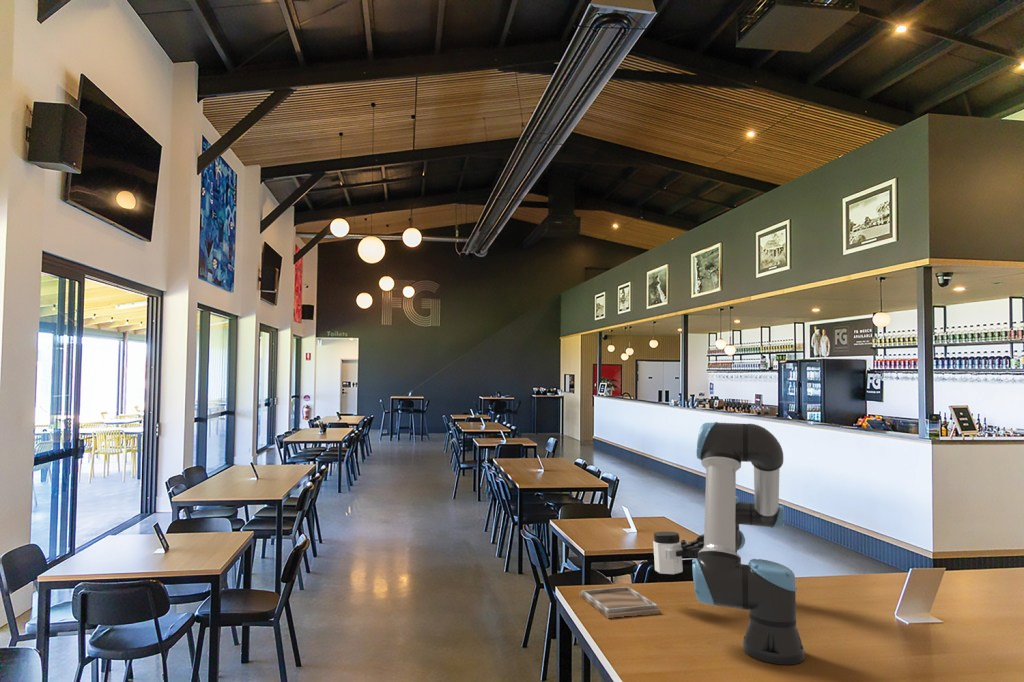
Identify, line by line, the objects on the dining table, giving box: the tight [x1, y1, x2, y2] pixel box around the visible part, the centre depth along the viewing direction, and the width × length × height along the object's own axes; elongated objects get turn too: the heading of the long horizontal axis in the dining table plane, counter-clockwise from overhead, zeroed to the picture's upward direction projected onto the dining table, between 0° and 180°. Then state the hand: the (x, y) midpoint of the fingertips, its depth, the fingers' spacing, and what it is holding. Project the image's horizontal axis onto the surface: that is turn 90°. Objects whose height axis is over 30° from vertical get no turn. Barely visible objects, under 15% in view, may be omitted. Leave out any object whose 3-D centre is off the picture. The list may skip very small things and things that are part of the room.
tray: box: [578, 586, 661, 619], centre depth 202 cm, size 22×18×2 cm
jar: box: [652, 531, 684, 575], centre depth 203 cm, size 9×8×12 cm
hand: (666, 554), depth 196 cm, fingers closed on jar
